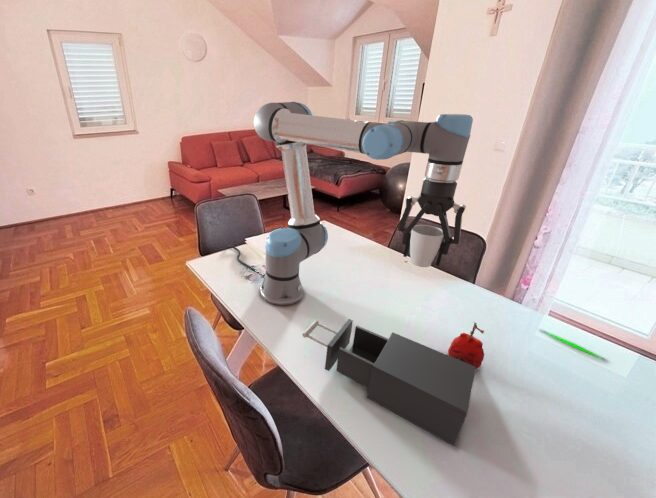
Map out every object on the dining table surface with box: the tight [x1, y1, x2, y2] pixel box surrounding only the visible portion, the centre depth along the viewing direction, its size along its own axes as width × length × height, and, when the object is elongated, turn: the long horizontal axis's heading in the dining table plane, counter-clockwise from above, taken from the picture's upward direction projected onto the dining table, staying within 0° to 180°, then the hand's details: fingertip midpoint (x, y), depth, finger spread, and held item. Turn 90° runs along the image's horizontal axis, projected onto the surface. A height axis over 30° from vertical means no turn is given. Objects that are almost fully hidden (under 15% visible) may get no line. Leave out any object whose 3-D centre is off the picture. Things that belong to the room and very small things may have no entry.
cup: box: [409, 224, 444, 268], centre depth 86 cm, size 8×8×10 cm
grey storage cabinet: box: [366, 332, 477, 447], centre depth 71 cm, size 18×14×10 cm
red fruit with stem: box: [447, 321, 485, 371], centre depth 80 cm, size 8×7×15 cm
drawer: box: [302, 318, 389, 389], centre depth 81 cm, size 25×13×8 cm, turn 51°
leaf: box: [545, 331, 604, 360], centre depth 89 cm, size 1×14×1 cm, turn 33°
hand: (421, 259), depth 88 cm, fingers closed on cup, 8 cm apart
